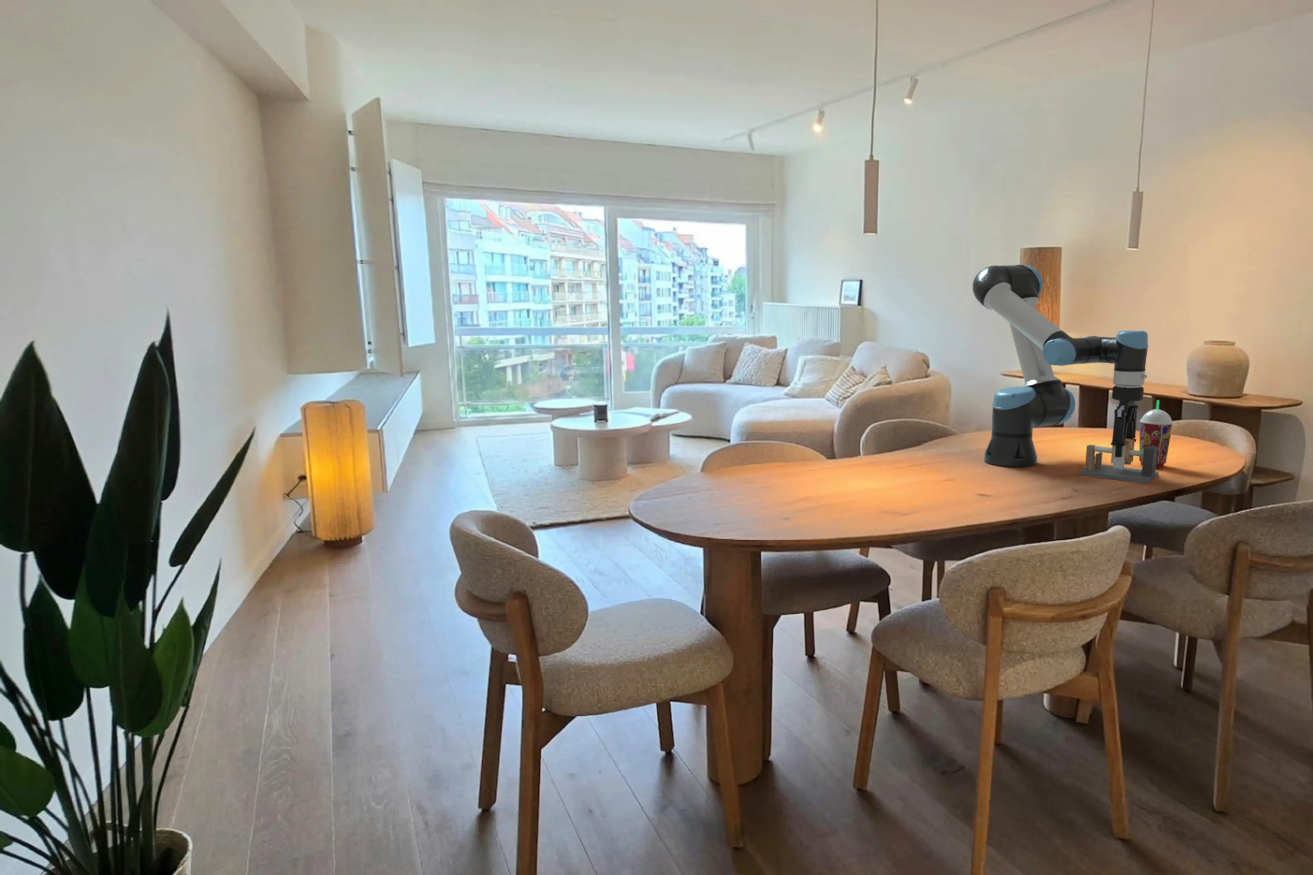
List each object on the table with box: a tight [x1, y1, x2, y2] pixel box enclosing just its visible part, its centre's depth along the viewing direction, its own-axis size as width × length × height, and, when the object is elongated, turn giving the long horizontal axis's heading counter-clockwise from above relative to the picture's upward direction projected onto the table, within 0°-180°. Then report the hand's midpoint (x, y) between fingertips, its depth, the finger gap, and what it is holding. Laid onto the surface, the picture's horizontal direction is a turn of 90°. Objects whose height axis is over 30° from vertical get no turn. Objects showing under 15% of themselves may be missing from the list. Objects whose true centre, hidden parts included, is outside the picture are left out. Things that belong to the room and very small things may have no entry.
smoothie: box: [1138, 399, 1174, 469], centre depth 225 cm, size 8×8×20 cm
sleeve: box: [1110, 438, 1136, 466], centre depth 215 cm, size 4×6×6 cm, turn 134°
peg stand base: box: [1079, 444, 1160, 484], centre depth 216 cm, size 17×12×9 cm
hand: (1121, 465), depth 216 cm, fingers closed on sleeve, 6 cm apart
